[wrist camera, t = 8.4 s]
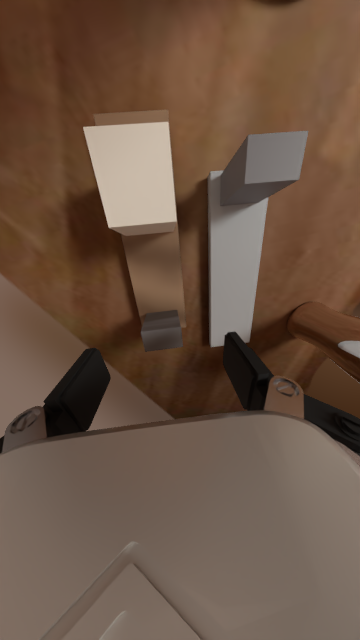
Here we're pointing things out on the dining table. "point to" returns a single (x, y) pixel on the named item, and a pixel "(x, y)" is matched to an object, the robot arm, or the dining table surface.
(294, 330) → the beer glass
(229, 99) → the dining table surface
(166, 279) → the brown long piece
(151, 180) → the cream block
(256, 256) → the grey strip
